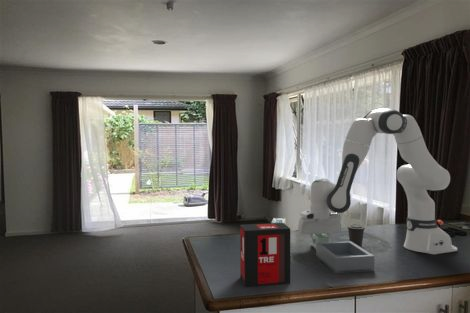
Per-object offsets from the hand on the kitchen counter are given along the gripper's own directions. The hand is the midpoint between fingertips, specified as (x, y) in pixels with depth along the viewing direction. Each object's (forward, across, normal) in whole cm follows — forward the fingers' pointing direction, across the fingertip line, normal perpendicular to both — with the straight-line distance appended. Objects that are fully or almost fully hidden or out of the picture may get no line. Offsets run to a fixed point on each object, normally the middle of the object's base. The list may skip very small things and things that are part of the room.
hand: (319, 242), depth 169 cm
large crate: (+3, -2, +21) cm, 21 cm away
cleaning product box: (+3, +34, +33) cm, 47 cm away
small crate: (+3, 0, 0) cm, 3 cm away
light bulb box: (+3, +16, -14) cm, 21 cm away
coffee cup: (+3, -18, 0) cm, 18 cm away
